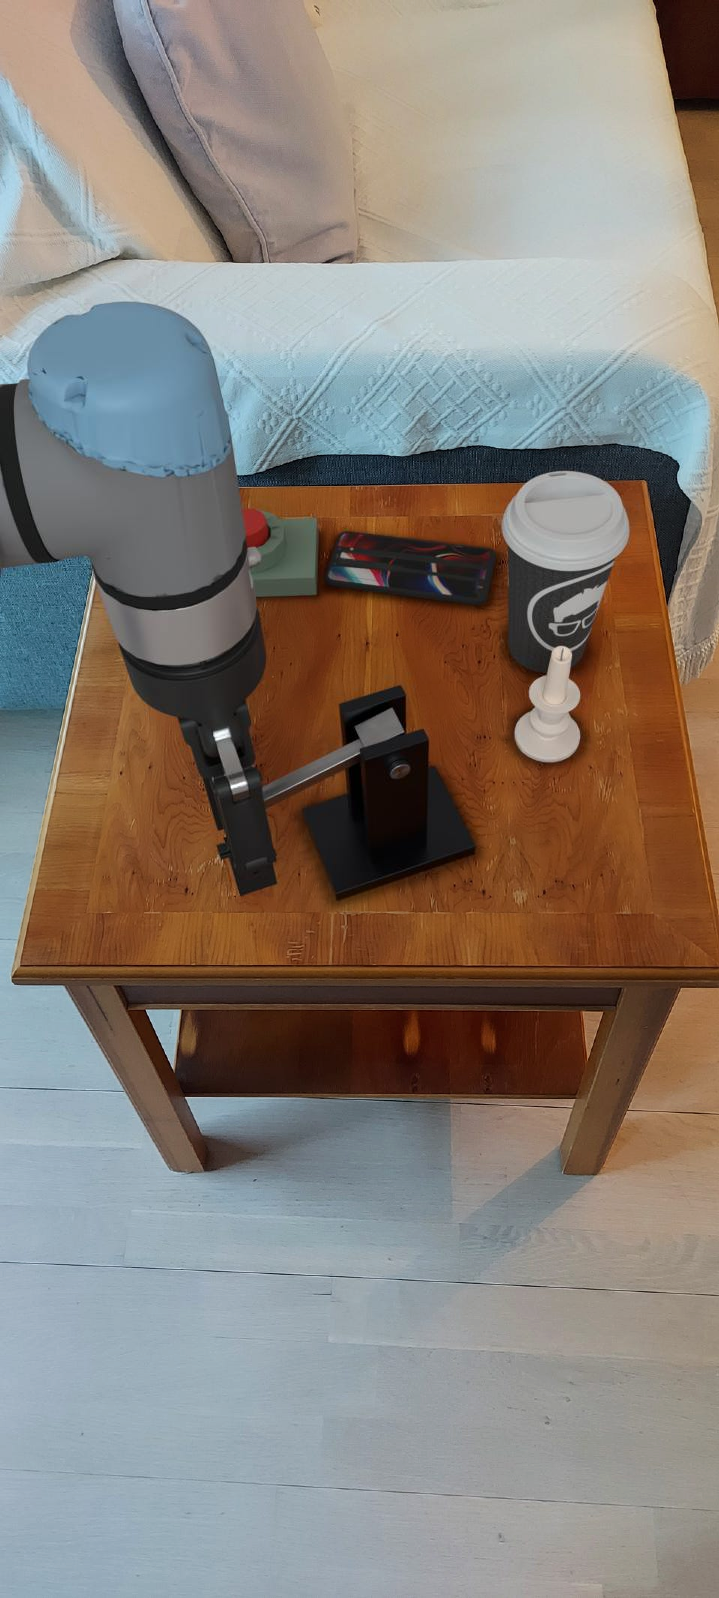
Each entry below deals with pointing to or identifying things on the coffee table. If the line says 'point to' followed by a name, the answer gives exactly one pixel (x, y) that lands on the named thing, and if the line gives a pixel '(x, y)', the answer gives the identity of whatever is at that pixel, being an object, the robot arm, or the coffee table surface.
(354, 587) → the smartphone
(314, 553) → the button box
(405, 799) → the bracket
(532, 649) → the coffee cup
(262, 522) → the button
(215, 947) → the coffee table surface
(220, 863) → the coffee table surface
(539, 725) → the candle
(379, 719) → the lever
